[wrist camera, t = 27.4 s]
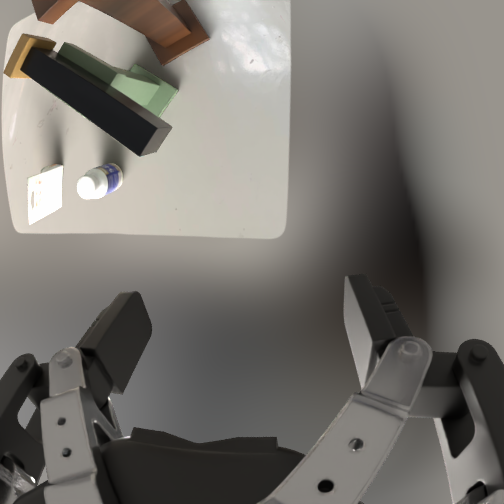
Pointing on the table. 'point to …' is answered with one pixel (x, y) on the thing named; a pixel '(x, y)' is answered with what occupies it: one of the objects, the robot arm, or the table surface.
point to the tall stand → (141, 22)
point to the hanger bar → (87, 95)
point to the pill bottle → (100, 181)
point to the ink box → (45, 192)
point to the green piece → (125, 80)
